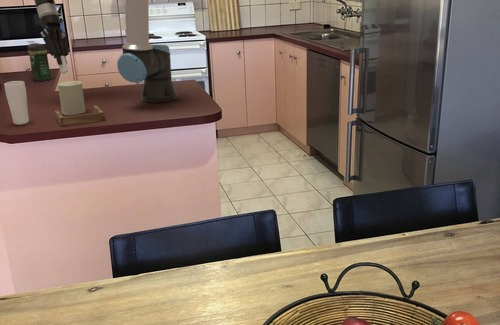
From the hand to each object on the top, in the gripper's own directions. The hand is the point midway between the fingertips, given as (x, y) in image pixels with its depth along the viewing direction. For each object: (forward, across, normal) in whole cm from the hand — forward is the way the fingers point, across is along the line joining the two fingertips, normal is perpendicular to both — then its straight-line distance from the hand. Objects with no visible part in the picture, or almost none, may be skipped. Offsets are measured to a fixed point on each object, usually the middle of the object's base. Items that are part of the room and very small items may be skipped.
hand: (65, 72), depth 210 cm
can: (+18, +4, +3) cm, 19 cm away
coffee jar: (-16, -36, -52) cm, 65 cm away
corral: (+23, +11, +11) cm, 28 cm away
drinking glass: (+19, +23, -5) cm, 31 cm away
